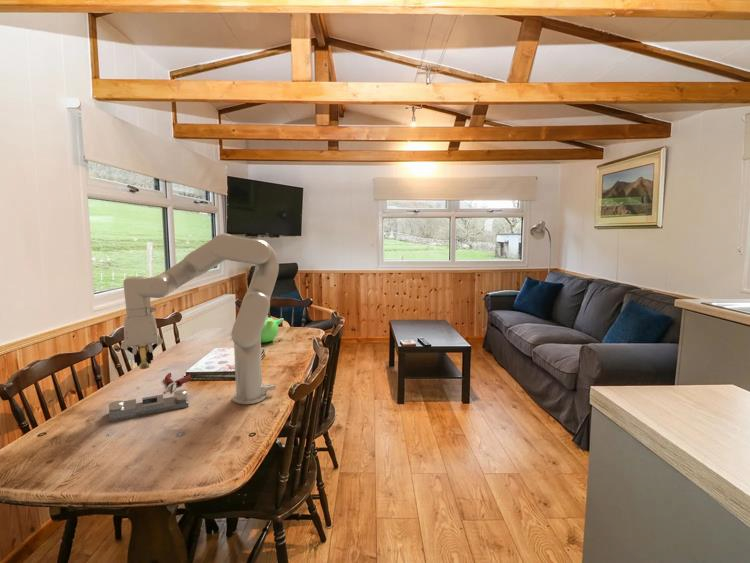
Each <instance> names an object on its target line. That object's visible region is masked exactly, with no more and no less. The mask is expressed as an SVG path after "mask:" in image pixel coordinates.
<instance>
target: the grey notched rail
mask: <svg viewBox="0 0 750 563" xmlns="http://www.w3.org/2000/svg"><path fill="white" fill-rule="evenodd" d="M141 399H142V400H141V401H142V402H137V399H136V398H134V399H130V400H129V399H128V400H124V401H123V400H115V401H111V402H110V403H108V420H109V423H113V422H112V421H114V422H117V420H119V421H123V420H122V419H124V420H128V419H127V418H129V419H133V418H132V417H134V418H137V417H138V416H139V417H143V416H144V415H145V416H150V415H154V414H153V413H155V414H160V413H164V412H169V411H170V410H171V411H175V410H180V408H181V409H185V407H186V408H189V406H190V405H189V397H188V390H187V389H178V390H174V391H173V396H170V397H165V398H164V394H159V395H158V394H157V395H151V396H145V397H142V398H141ZM159 412H160V413H159ZM149 414H150V415H149ZM139 417H138V418H139Z"/></svg>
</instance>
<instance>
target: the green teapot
mask: <svg viewBox="0 0 750 563" xmlns="http://www.w3.org/2000/svg"><path fill="white" fill-rule="evenodd" d="M283 321H285V319H284V318H283V317H282V318H279V319H273V318H272V317H269V316H267V318H266V321H265V323H264V326H263V329H262V332H261V344H262V343H264V344H265V343H269V342H271V341H273V340H275V338H276V337H277V335H278V333H279V331H280V330H279V329H280V328H279V325H280V324H281V323H283Z"/></svg>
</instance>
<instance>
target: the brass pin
mask: <svg viewBox="0 0 750 563" xmlns="http://www.w3.org/2000/svg"><path fill="white" fill-rule="evenodd" d="M148 350H149V348H148V344H141V345H138V346H137V351H138V354H139V369H140V370H146V369H149V368H150V364H149V362H148Z"/></svg>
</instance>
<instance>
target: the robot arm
mask: <svg viewBox="0 0 750 563" xmlns="http://www.w3.org/2000/svg"><path fill="white" fill-rule="evenodd" d="M225 261H231V262H237V263H244V264H250V265H254V271H253V273H252V276H251V280H250V284H249V285H248V286H249V287H248V289H247V290H246V293H245V294H244V297H243V298H242V300H241V301H242V302H241V304H240V307H239V310H238V312H237V316H236V319H235V321H234V323H233V326H232V329H231V334H230V336H231V339H232V342H233V347H234V348H233V349H234V350H233V351H234V354H233V355H234V371H235V372H234V373H235V375H234V376H235V392H234V393H233V395H231V401H232V402H233V403H234V404H238V405H253V404H257V403H260V402H263V401H264V400H266V398H267V396H268V392H269V391H275V390H276V384H270V383H267V384H263V370H262V369H263V367H262V366H263V364H262V343H261V332H262V329H263V326H264V323H265V321H266V318H267V317H268V314H269V312H270V308H271V299H272V298H271V297H272V294H273V291H274V288H275V286H276V282H277V278H278V276H279V271H280V263H279V262H280V261H279V259H278V255H277V253H276V251H275V250H274V248H273V247H272V246H271V245H270V244H269V243H268V242H267V241H266V240H264V239H252V238H247V237H241V236H235V235H232V234H230V233H220V234H217V235H215V236H214V237H213V238H212V239H210V240H209V241H208V242H206V243H204V244H202V245H201V246H199V247H198V248H196V249H194V250H192V251H190V252H189V253H188V254H186V256H185V257H183V259H182V260H180V261H179V262H177V263H176V264H175V265H173V266H172V267H170V268H168V269H167V270H164V271H163V272H161V273H160V274H157V275H155V276H153V277H152V276H151V277H146V276H130V277H129V276H128V277H126V278H124V279H123V293H124V302H125V312H126V316H124V321H123V337H124V339H123V340H122V342H121V345H120V349H122V350H125V351H128V352H129V353H131V354H132V355H133V360H134V364H136V366H137V367H138V366H139V354H138V347H137V346H138V345H141V344H148V345H147V348H148V362H149V365H150V364H152V361H154V356H153V352H154V351H155V349H157V347H159V346H160V345H162V344H163V343H164V341H163V338H161V336H160V335H159V332H158V326H157V320H156V316H155V314H154V312H157V309H156V307H153V306H152V303H151V302H152V301H151V299H153V298H154V299H159V298H160V299H162V298H165V297H167V296H168V295H169V294H171V293H172V292H174V291H175V290H177V289H179V288H180V287H182V286H183V285H186V284H187V283H188V282H190V281H191V280H193V279H195V278H198V277H200V276H203V275H204V274H206V273H208V272H209V271H210V270H212V269H213V268H215V267H216V266H219V265H220V264H222V263H223V262H225Z"/></svg>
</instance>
